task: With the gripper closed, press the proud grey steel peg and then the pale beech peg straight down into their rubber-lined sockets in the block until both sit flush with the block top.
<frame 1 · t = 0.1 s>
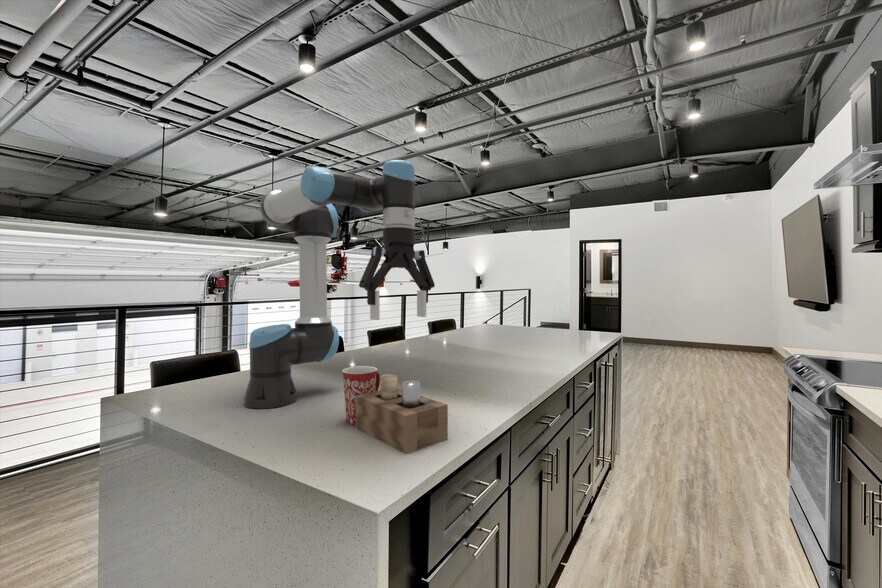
hand: (399, 318, 93), 28 cm above the countertop, fingers open, 13 cm apart
socket block: (399, 432, 94), on the countertop
mug: (364, 418, 105), on the countertop
steel peg: (411, 398, 91), point 9 cm above the countertop, slide at 5.0 cm
beech peg: (389, 391, 97), point 9 cm above the countertop, slide at 5.0 cm
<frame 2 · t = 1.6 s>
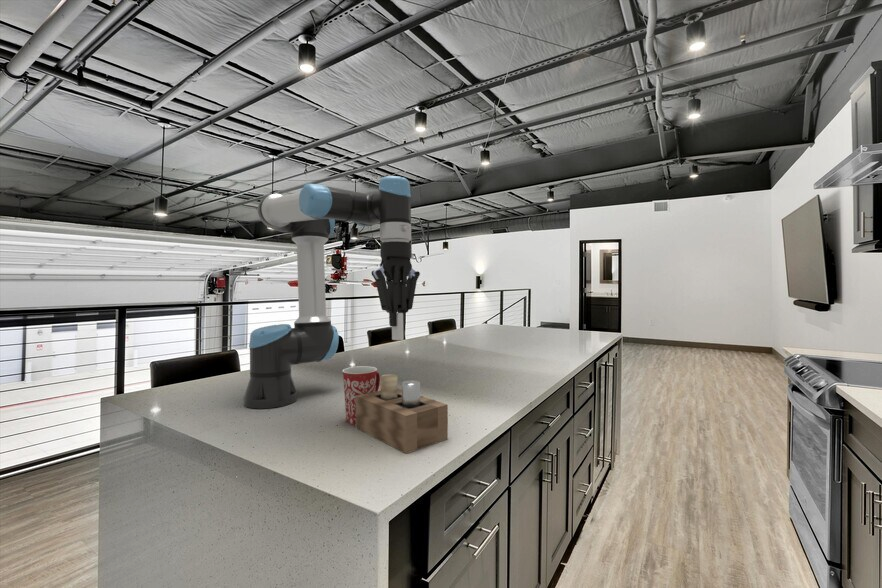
hand: (397, 339, 94), 22 cm above the countertop, fingers closed
nothing on the countertop moved.
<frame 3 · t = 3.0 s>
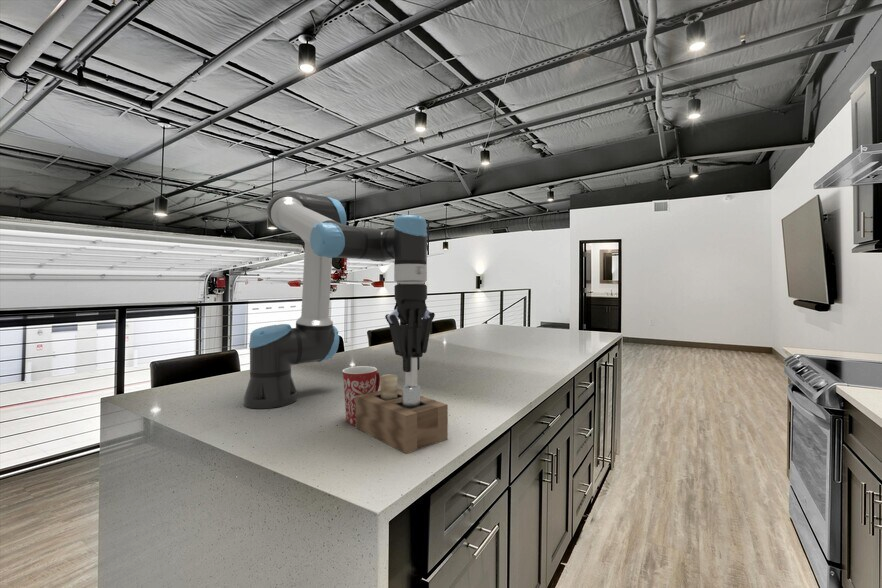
hand: (411, 385, 90), 12 cm above the countertop, fingers closed
steel peg: (411, 402, 91), point 8 cm above the countertop, slide at 4.2 cm, touching gripper
everything else where it was.
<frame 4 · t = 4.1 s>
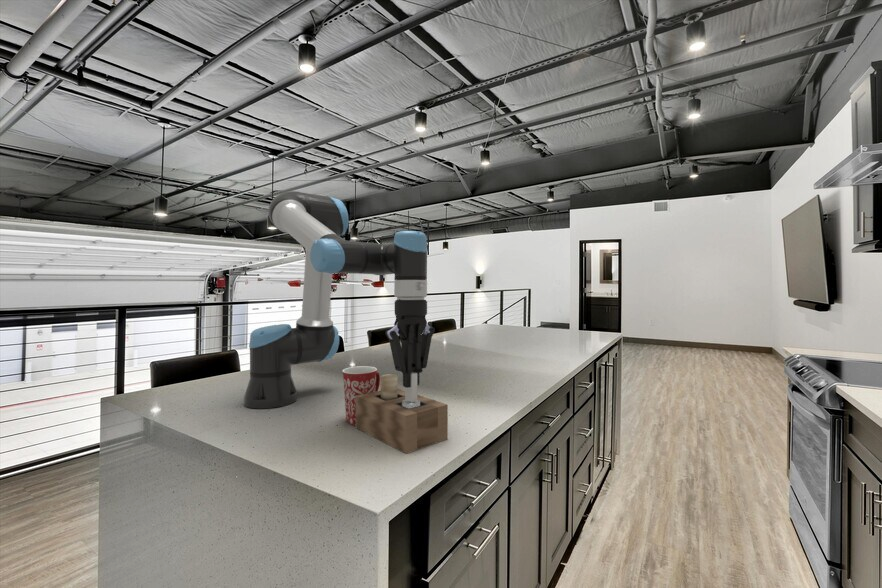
hand: (411, 400, 91), 9 cm above the countertop, fingers closed
steel peg: (411, 417, 91), point 5 cm above the countertop, slide at 0.6 cm, touching gripper
everything else where it was.
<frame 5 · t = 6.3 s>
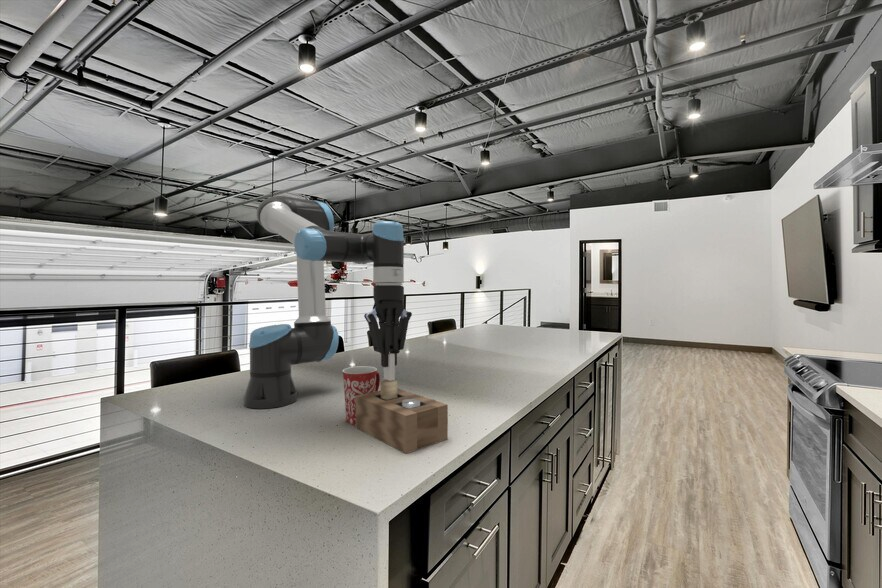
hand: (389, 379, 97), 12 cm above the countertop, fingers closed
steel peg: (411, 417, 91), point 5 cm above the countertop, slide at 0.6 cm
beech peg: (389, 395, 97), point 8 cm above the countertop, slide at 3.9 cm, touching gripper
everything else where it was.
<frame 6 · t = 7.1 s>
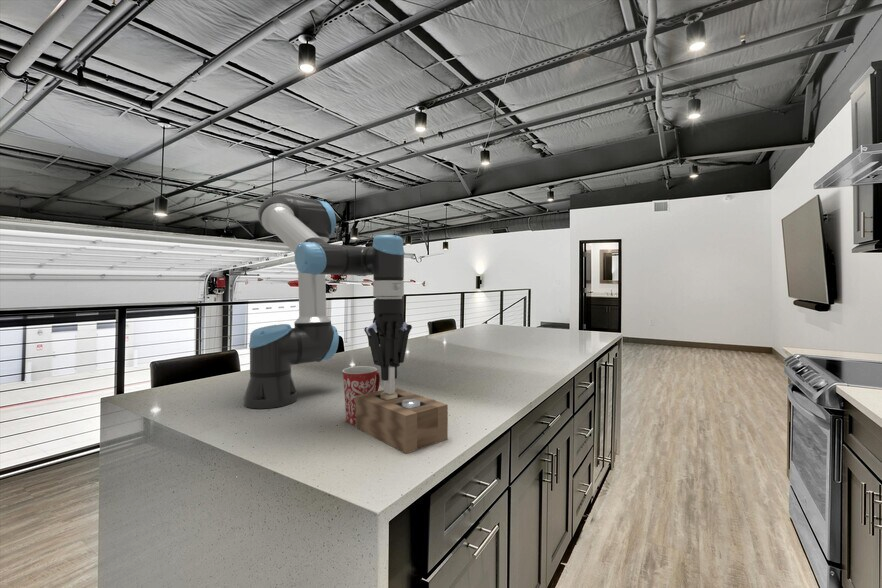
hand: (389, 392, 97), 9 cm above the countertop, fingers closed
beech peg: (389, 408, 97), point 5 cm above the countertop, slide at 0.7 cm, touching gripper
everything else where it was.
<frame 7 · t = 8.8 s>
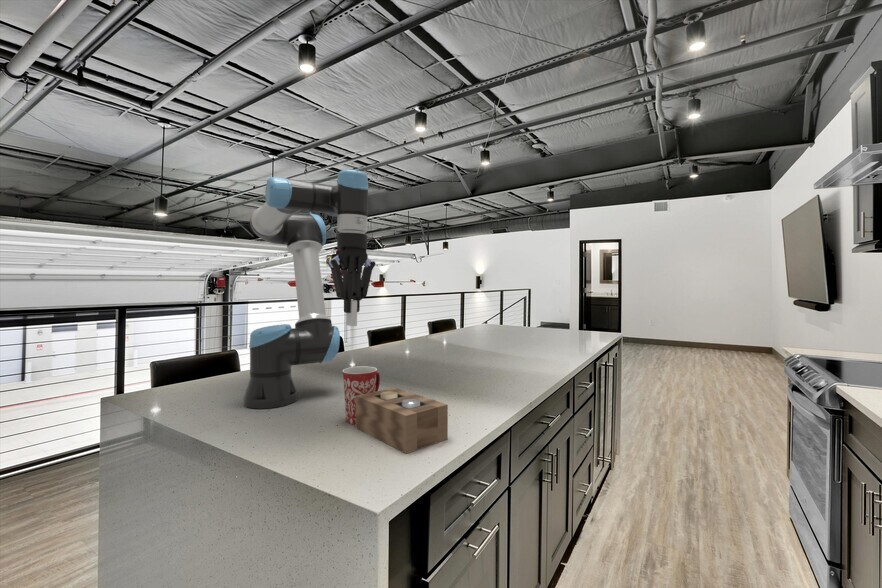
hand: (351, 325, 100), 25 cm above the countertop, fingers closed
beech peg: (389, 408, 97), point 5 cm above the countertop, slide at 0.6 cm
everything else where it was.
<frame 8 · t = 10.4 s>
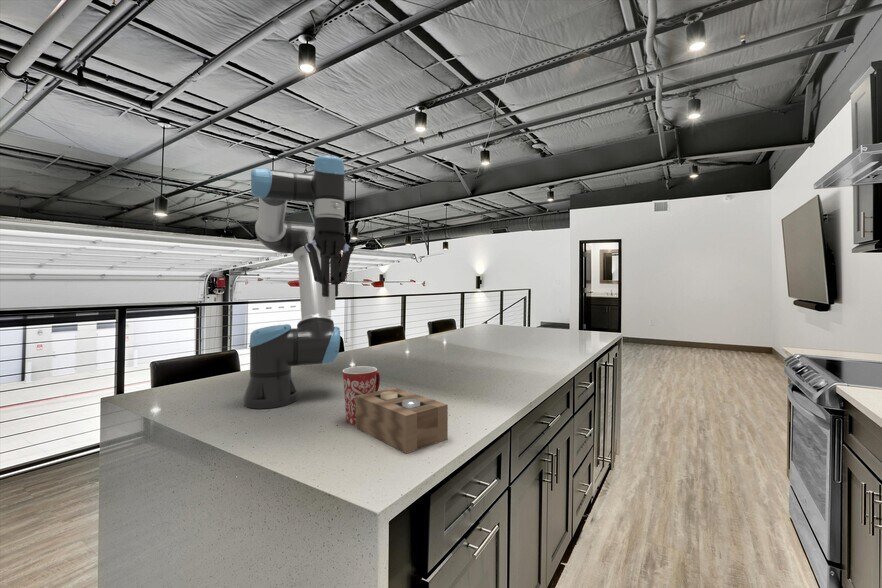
hand: (330, 309, 101), 29 cm above the countertop, fingers closed
nothing on the countertop moved.
at the end: steel peg slide at 0.6 cm; beech peg slide at 0.6 cm; beech peg touching nothing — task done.
